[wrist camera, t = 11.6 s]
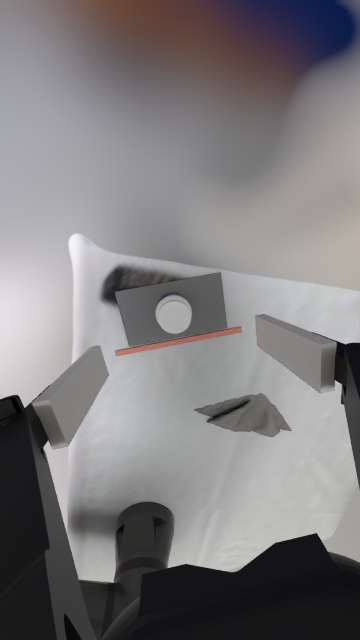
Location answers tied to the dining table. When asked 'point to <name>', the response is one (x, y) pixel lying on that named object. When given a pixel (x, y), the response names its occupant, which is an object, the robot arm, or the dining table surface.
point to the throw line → (178, 341)
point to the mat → (143, 302)
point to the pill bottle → (173, 312)
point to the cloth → (247, 415)
